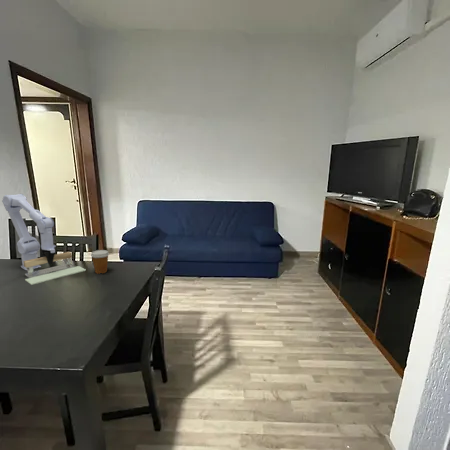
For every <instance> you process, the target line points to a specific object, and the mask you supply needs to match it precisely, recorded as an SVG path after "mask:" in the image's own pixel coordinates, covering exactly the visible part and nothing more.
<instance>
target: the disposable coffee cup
mask: <svg viewBox="0 0 450 450" xmlns="http://www.w3.org/2000/svg"><path fill="white" fill-rule="evenodd" d="M90 255H91V258H92V262H93V263H92V265H93V268H94V272H95V274H97V275H98V274H100V273H102V274H105V273H107V271H108V264H109V263H108V262H109V255H110V253H109V251H108V250H105V249H97V250H93V251H92V252H91V253H90Z"/></svg>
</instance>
